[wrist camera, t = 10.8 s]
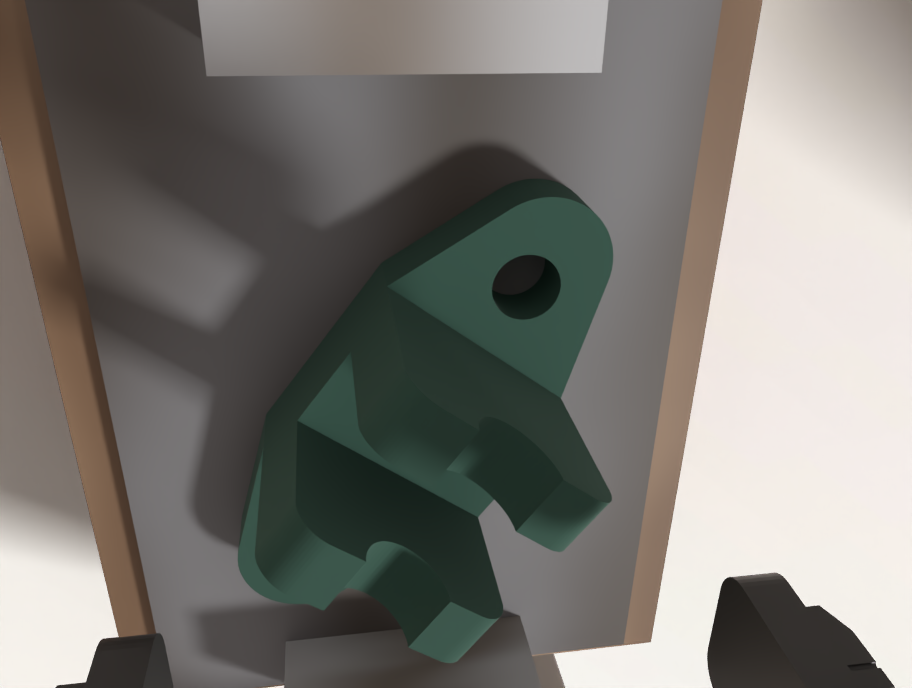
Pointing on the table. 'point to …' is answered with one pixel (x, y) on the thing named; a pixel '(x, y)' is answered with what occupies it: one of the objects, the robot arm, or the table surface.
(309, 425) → the mount
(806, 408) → the table surface
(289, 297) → the tray
